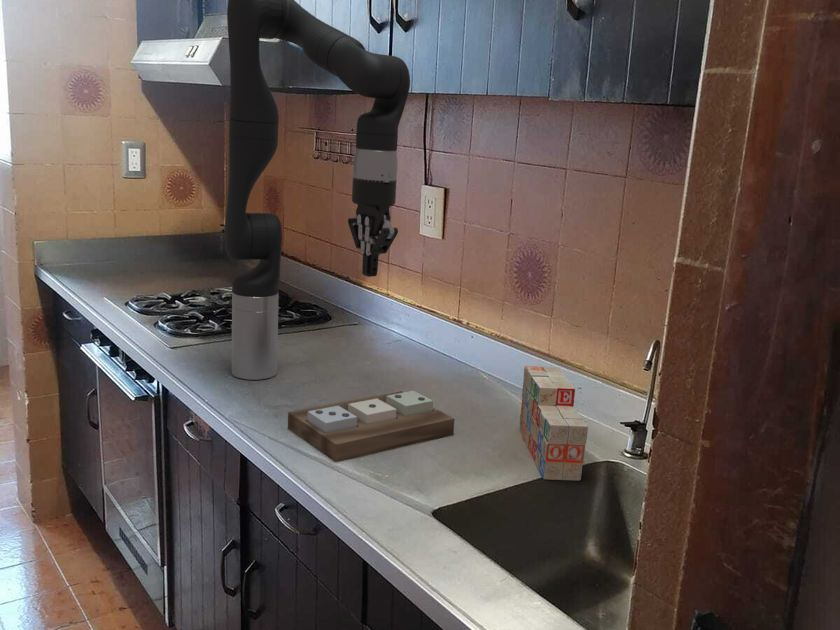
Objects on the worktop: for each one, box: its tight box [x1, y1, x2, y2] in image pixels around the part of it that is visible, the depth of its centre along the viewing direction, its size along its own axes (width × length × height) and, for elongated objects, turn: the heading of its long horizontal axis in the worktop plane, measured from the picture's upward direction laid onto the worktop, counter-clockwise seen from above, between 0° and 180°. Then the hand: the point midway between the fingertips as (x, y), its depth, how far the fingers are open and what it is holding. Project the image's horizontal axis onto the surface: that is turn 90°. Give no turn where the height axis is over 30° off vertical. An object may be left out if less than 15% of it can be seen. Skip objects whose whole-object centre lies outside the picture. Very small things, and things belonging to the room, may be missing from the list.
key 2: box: [386, 390, 434, 417], centre depth 145 cm, size 6×6×3 cm
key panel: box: [287, 391, 455, 463], centre depth 140 cm, size 16×24×3 cm, turn 127°
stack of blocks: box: [518, 365, 589, 482], centre depth 135 cm, size 21×6×12 cm, turn 4°
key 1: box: [348, 399, 396, 425], centre depth 140 cm, size 6×6×3 cm
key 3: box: [307, 406, 357, 433], centre depth 135 cm, size 6×6×3 cm
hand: (369, 275), depth 142 cm, fingers closed
